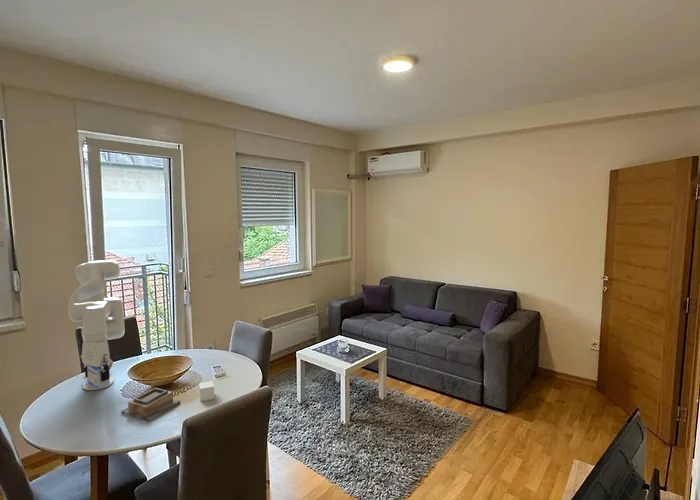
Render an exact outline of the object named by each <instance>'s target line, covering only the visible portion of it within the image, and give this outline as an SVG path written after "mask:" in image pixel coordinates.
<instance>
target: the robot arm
mask: <svg viewBox="0 0 700 500" xmlns="http://www.w3.org/2000/svg"><path fill="white" fill-rule="evenodd" d="M120 269H121V268H120V265H119V263H118V262H117V260H93V261H92V260H91V261H88V262H85V263H81V264H79V265H77V266H76V267H75V276H76V278H77V282H78V283H79V285H80V286H79V287H78V288H77V289H75V290H74V291H73V292H72V293H71V295H70V297H69V299H68V310H67V311H68V318H69V320H70V321H72V322H76V323H77V322H83V325H82V327H81V336H82V341H83V342H82V347H81V355H80V358H81V362H82V364H83V368H84V375H83V377H82V380H85V382H84V383H83V384H82V389H83V390H86V391H97V390H102V389H104V388H107V387H110V386H111V385H113V383H114V381H115V379H114V378H113V377H111V376H110V374H111V373H110V370H111V368H112V367H113V366H112V365H113V364H114V361H113V360H112V359H111V358H110V349H109V343H108V340H116V339H120V338H122V337H124V335H125V330H126V329H125V316H124V315H125V313H124V305H123V301H122V299H121V298H120V297H116V296H115V297H106V296H105V294H106V293H105V290H106V289H105V288H106V282H105V281H106V280H115V279H118V278H119V276H120V272H121V270H120ZM107 318H112V319H107ZM102 363H103V364H102ZM87 365H90V366H94V367H99V366H100V368H101V370H102V372H101V381H102V382H103V381H106V380H108V379H110V385H108V386H105V387H102V388H100V389H98V388H96V387H94V386H91V385H89V384H88V373H87ZM103 365H106V367H105V368H104V367H103Z"/></svg>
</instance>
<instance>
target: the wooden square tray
mask: <svg viewBox="0 0 700 500" xmlns="http://www.w3.org/2000/svg"><path fill="white" fill-rule="evenodd" d="M173 393H174V391H169V390H167V389H163V388H159V387H154V388H153V389H150V390H148V391H147V392H144V393H142V394H141V395H139V396H136V397H135V398H133V399H132V400H130V401H128V402H127V403H128V407H126V408H125V409H123V410H121V411H120V413H121V415H125V416H129V417H132V418H136V419H140V420H141V421H142V420H143V421H147V422H152V421H153V420H155V419H157V418H158V417H160V416H162V415H163V414H165V413H166V412H168V411H170V410H172V409H173V408H175V407H176V406H177V405H178V406H179V404H181V401H180V400H178V399H176V398H175V399H174V394H173Z"/></svg>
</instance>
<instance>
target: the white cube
mask: <svg viewBox="0 0 700 500" xmlns="http://www.w3.org/2000/svg"><path fill="white" fill-rule="evenodd" d="M198 388H199V389H198V391H199V392H198V393H199V395H198V396H199V400H200V402H203V401H209V400H214V399H215V385H214V381H212V380H211V381H206V382H200V383H198Z"/></svg>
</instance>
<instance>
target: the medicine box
mask: <svg viewBox="0 0 700 500" xmlns="http://www.w3.org/2000/svg"><path fill="white" fill-rule="evenodd" d="M102 364H103V363H102ZM103 367H104V368H105V367H106V365H103ZM101 372H102V370H101V368H100V366H99V367H94V366H90V365H87V373H88V384H89V385H91V386H94V387H96V388H98V390H101V389H100V388H102V387H105V386H108V385H110V379H108V380H106V381H103V382H102V381H101ZM110 386H111V385H110ZM108 387H109V386H108ZM105 388H106V387H105ZM102 389H103V388H102Z"/></svg>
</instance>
